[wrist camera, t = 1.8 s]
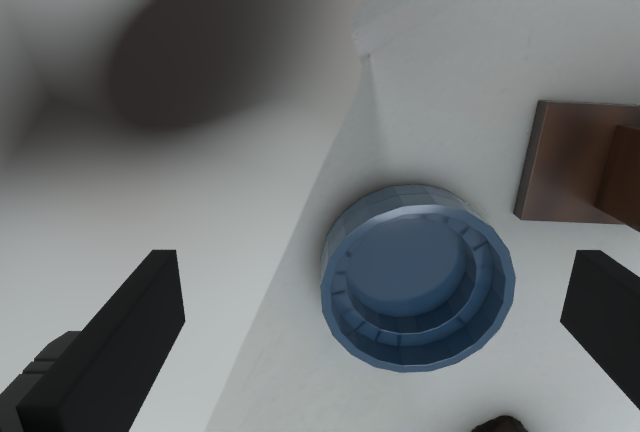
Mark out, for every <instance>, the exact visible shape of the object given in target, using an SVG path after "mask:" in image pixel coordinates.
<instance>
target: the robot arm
mask: <svg viewBox="0 0 640 432" xmlns="http://www.w3.org/2000/svg"><path fill="white" fill-rule="evenodd" d="M560 322H561V323H562V324H563V325H564V327H565V328H566V329H567V330H568V331H569V332H570V333H571V334H572V335H573V337H574V338H575V339H576V340H577V341H578V342H579V343H580V344H581V345H582V347H583V348H584V349H585V350H586V351H587V352H588V353H589V354H590V355H591V357H592V358H593V359H594V360H595V361H596V362H597V363H598V364H599V365H600V367H601V368H602V369H603V370H604V371H605V372H606V373H607V374H608V375H609V377H610V378H611V379H612V380H613V381H614V382H615V383H616V384H617V385H618V387H619V388H620V389H621V390H622V391H623V392H624V393H625V394H626V395H627V397H628V398H629V399H630V400H631V401H632V402H633V403H634V404H635V405H636V407H637V408H638V409H639V410H640V277H638V276H637V275H635V274H634V273H633V272H631V271H630V270H628V269H627V268H625V267H624V266H622V265H621V264H620V263H618V262H617V261H615V260H614V259H612V258H611V257H609V256H608V255H607V254H605V253H604V252H602V251H601V250H577V252H576V256H575V260H574V264H573V269H572V273H571V277H570V281H569V285H568V290H567V294H566V298H565V302H564V307H563V311H562V315H561V319H560ZM184 323H185V314H184V306H183V299H182V292H181V284H180V277H179V269H178V262H177V255H176V250H152V251H151V252H150V253H149V255H148V256H147V257H146V258H145V259H144V260H143V261H142V263H141V264H140V265H139V266H138V267H137V268H136V269H135V270H134V272H133V273H132V274H131V275H130V276H129V277H128V279H127V280H126V281H125V282H124V283H123V284H122V285H121V287H120V288H119V289H118V290H117V291H116V292H115V293H114V295H113V296H112V297H111V298H110V299H109V300H108V301H107V303H106V304H105V305H104V306H103V307H102V308H101V310H100V311H99V312H98V313H97V314H96V315H95V316H94V317H93V319H92V320H91V321H90V322H89V323H88V325H86V327H85V328H84V329H83V330H82V331H68V332H66V333H65V334H63V335H62V336H60V337H58V338H57V339H55V340H54V341H52V342H51V343H49V344H48V345H47V346H46V347H45V348H44V349H43V350H42V351H41V352H40V353H39V354H38V355H37V356H36V357H35V358H34V362H31V363H30V364H29V365H28V366H27V367H26V368H25V369H24V370H23V373H22V374H19V375H18V376H17V377H16V378H15V380H14V381H13V382H12V383H11V384H10V385H9V386H8V387H7V388H6V389H5V390H4V391H3V392H2V393H1V394H0V432H129V429H130V428H131V426H132V424H133V422H134V420H135V418H136V416H137V414H138V412H139V410H140V408H141V406H142V404H143V403H144V401H145V399H146V397H147V395H148V393H149V391H150V389H151V387H152V385H153V383H154V381H155V379H156V377H157V375H158V373H159V372H160V369H161V368H162V366H163V364H164V362H165V360H166V358H167V356H168V354H169V352H170V350H171V348H172V346H173V344H174V342H175V340H176V338H177V336H178V334H179V332H180V331H181V329H182V327H183V325H184Z"/></svg>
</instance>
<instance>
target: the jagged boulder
mask: <svg viewBox="0 0 640 432" xmlns="http://www.w3.org/2000/svg"><path fill="white" fill-rule="evenodd" d="M471 432H528V431H527V430H526V429H525V428H524V427H523V425H522V423H521V422H520V421H518V420H516V419H514V418H513V417H511V416H500V417H498V418H496V419H495V420H490V421H488V422H486V423H484V424H482V425H480V426H477V427H476V428H475V429H473V430H472V431H471Z"/></svg>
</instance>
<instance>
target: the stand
mask: <svg viewBox="0 0 640 432" xmlns="http://www.w3.org/2000/svg"><path fill="white" fill-rule="evenodd" d="M514 215H515V216H517V217H518V218H519V219H520V220H533V221H556V222H578V223H601V224H623V225H628V226H629V227H631V228H633V229H635V230H637V231H638V232H640V105H628V104H608V103H587V102H566V101H545V100H539V102H538V107H537V111H536V116H535V120H534V125H533V129H532V134H531V138H530V143H529V147H528V152H527V156H526V161H525V165H524V169H523V174H522V178H521V183H520V187H519V192H518V196H517V201H516V205H515V210H514Z"/></svg>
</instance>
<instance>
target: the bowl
mask: <svg viewBox="0 0 640 432" xmlns="http://www.w3.org/2000/svg"><path fill="white" fill-rule="evenodd" d="M515 279H516V277H515V272H514V268H513V264H512V261H511V257H510V253H509V250H508V248H507V247H506V246H505V244H504V243H503V242H502V240H501V239H500V237H499V236H498V235H497V233H496V232H495V231H494V229H493V228H492V227H491V226H490V225H489V224H488V223H487V222H486V221H485V220H484V219H483V218H482V217H481V216H480V215H479V214H478V213H477V212H476V211H475V210H474V209H473V208H472V207H471V206H470V205H469V204H467V203H466V202H464V201H462V200H461V199H459V198H458V197H456V196H455V195H453V194H452V193H450V192H448V191H446V190H442V189H438V188H434V187H430V186H426V185H421V184H415V185H397V186H391V187H388V188H385V189H382V190H380V191H377V192H374V193H372V194H369V195H366V196H364V197H363V198H362V199H360V200H359V201H358V202H356V203H355V204H354V205H352V206H351V207H350V208H348V209H347V210H346V211H344V212H343V213H342V215H341V216H340V217H339V219H338V220H337V222H336V223H335V225H334V226H333V227H332V229H331V230H330V232H329V233H328V235H327V238H326V242H325V245H324V249H323V252H322V255H321V300H322V312H323V315H324V317H325V320H326V322H327V324H328V326H329V328H330V330H331V333H332V335H333V336H334V337H335V338H336V340H337V341H338V342H339V343H340V344H341V345H342V346H343V347H344V348H345V349H346V350H347V351H348V352H349V353H350V354H351V355H353V356H355V357H357V358H359V359H360V360H362V361H364V362H366V363H368V364H370V365H372V366H373V367H377V368H381V369H386V370H390V371H395V372H400V373H401V372H402V373H406V372H428V371H433V370H436V369H440V368H443V367H446V366H450V365H453V364H456V363H458V362H460V361H461V360H463V359H465V358H466V357H468V356H470V355H471V354H473V353H475V352H476V351H478V350H479V349H481V348H482V347H483V346H484V345H485V344H486V343H487V342H488V341H489V340H490V339H491V338H492V337H493V336H494V335H495V333H496V332H497V331H498V330H499V329H500V328H501V326H502V324H503V322H504V320H505V318H506V316H507V314H508V312H509V310H510V308H511V306H512V303H513V296H514V287H515Z"/></svg>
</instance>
